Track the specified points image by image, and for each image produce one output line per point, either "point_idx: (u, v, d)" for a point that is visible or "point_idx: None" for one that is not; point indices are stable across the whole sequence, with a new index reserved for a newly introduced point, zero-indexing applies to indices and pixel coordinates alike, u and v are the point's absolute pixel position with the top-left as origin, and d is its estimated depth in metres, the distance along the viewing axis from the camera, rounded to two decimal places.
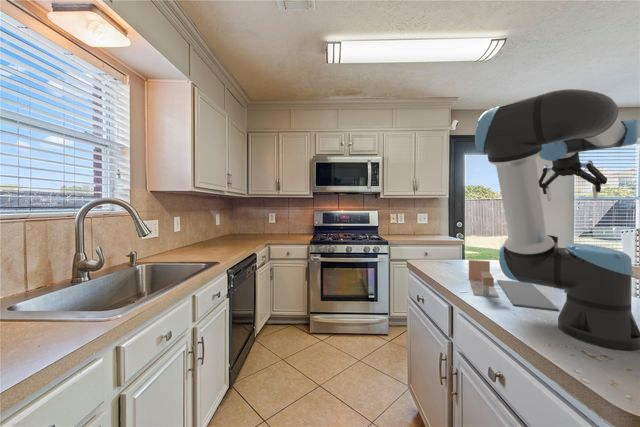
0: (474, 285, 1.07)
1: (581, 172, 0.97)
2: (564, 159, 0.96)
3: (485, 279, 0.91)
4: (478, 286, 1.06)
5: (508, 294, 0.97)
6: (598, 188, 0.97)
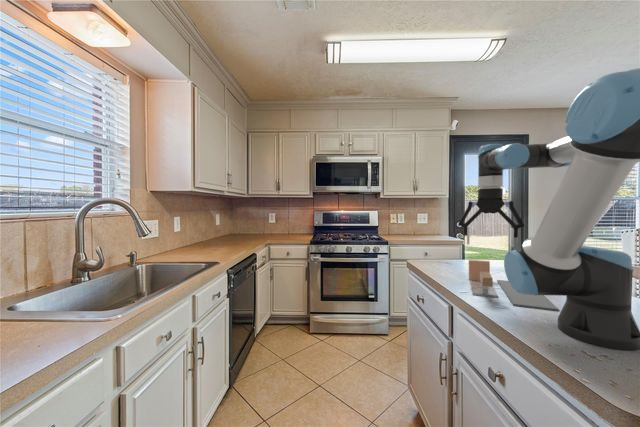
0: (474, 285, 1.07)
1: (502, 211, 0.93)
2: (492, 188, 0.91)
3: (484, 279, 0.91)
4: (478, 286, 1.06)
5: (508, 294, 0.97)
6: (516, 232, 0.91)
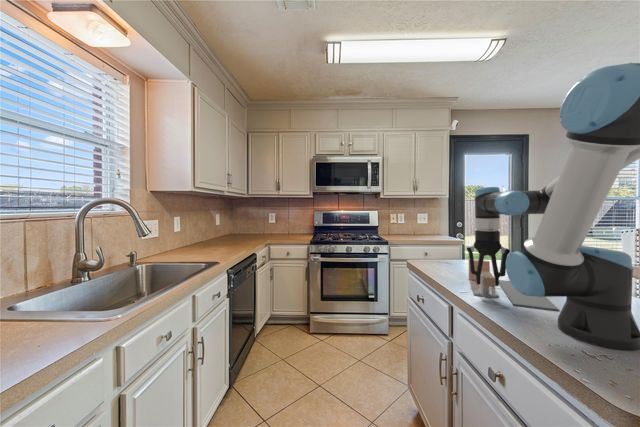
0: (474, 285, 1.07)
1: None
2: (490, 231, 0.90)
3: (486, 279, 0.91)
4: (478, 286, 1.06)
5: (508, 294, 0.97)
6: (497, 281, 0.92)
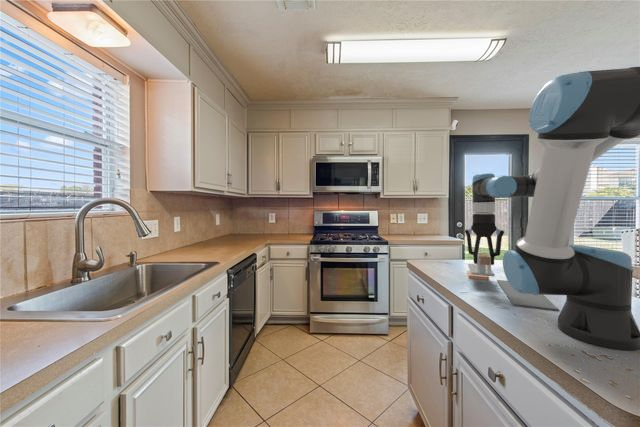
0: (472, 267, 1.15)
1: (490, 238, 1.00)
2: (486, 214, 0.98)
3: (482, 258, 0.99)
4: (476, 267, 1.14)
5: (508, 294, 0.97)
6: (492, 260, 1.00)
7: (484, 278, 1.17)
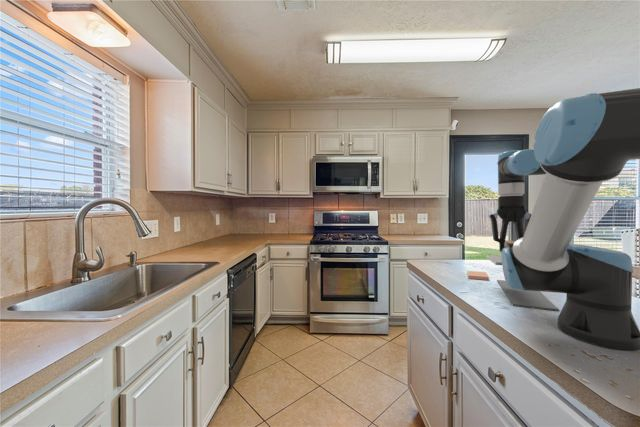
0: (493, 257, 1.04)
1: None
2: (515, 196, 0.88)
3: (511, 245, 0.88)
4: (497, 258, 1.03)
5: (508, 294, 0.97)
6: None
7: (484, 278, 1.17)
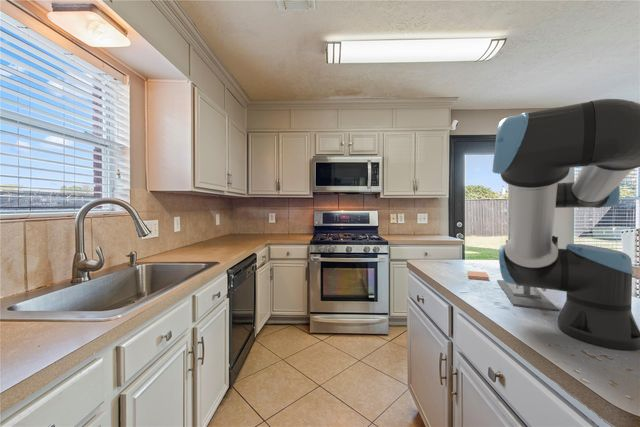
0: (511, 285, 1.04)
1: None
2: None
3: None
4: None
5: (508, 294, 0.97)
6: None
7: (484, 278, 1.17)
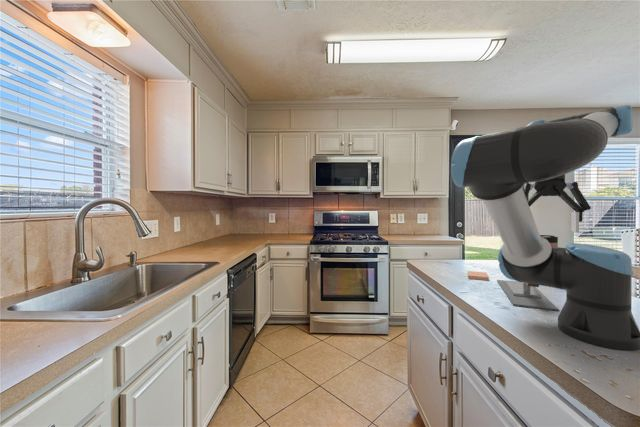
0: (511, 285, 1.04)
1: None
2: None
3: None
4: (516, 286, 1.02)
5: (508, 294, 0.97)
6: (580, 216, 0.84)
7: (484, 278, 1.17)
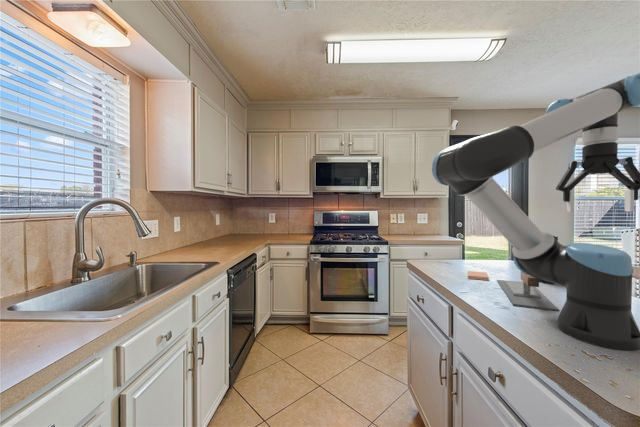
0: (511, 285, 1.04)
1: None
2: (607, 142, 0.77)
3: (529, 279, 0.88)
4: (516, 286, 1.02)
5: (508, 294, 0.97)
6: (636, 194, 0.77)
7: (484, 278, 1.17)
